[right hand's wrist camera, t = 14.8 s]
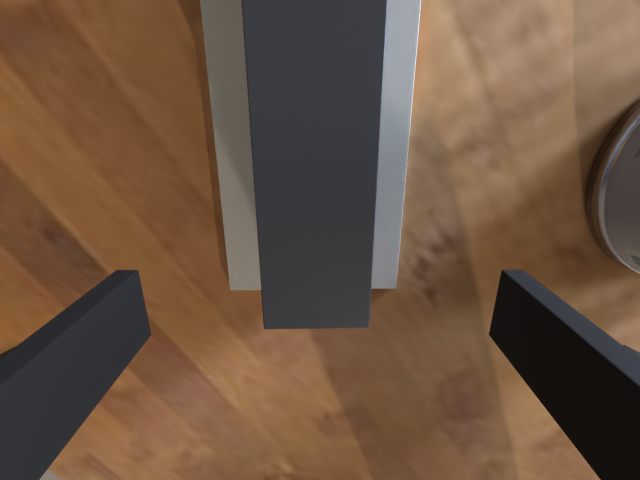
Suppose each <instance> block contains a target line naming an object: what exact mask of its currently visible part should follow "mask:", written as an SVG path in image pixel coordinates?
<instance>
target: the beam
mask: <svg viewBox="0 0 640 480" xmlns="http://www.w3.org/2000/svg"><path fill="white" fill-rule="evenodd" d="M241 3H242V17H243V32H244V46H245V61H246V75H247V90H248V104H249V119H250V133H251V148H252V162H253V177H254V191H255V206H256V220H257V235H258V249H259V264H260V278H261V293H262V307H263V322H264V329H313V328H369V319H370V302H371V285H372V267H373V250H374V233H375V215H376V198H377V181H378V163H379V146H380V129H381V111H382V94H383V77H384V60H385V42H386V25H387V8H388V0H241Z"/></svg>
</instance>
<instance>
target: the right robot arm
mask: <svg viewBox="0 0 640 480" xmlns="http://www.w3.org/2000/svg"><path fill="white" fill-rule="evenodd" d="M586 207H587V217H588V223H589V226H590V230H591V232H592V234H593V237H594V239H595V240H596V242H597V244H598V245H599V247H600V248H601V249H602V250H603V251H604V252H605V253H606V254H607V255H608V256H609V257H610V258H611V259H613V260H614V261H616V262H617V263H619V264H621V265H623V266H625V267H627V268H629V269H631V270H633V271H635V272H637V273H639V274H640V100H639V101H638V102H637V103H636V104H635V105H634V106H633V107H632V108H631V109H630V110H629V111H628V112H627V113H626V114H625V116H624V117H623V118H622V119H621V120H620V121H619V123H618V124H617V125H616V127H615V128H614V129H613V131H612V132H611V134H610V135H609V137H608V138H607V140H606V142H605V143H604V145H603V147H602V149H601V151H600V153H599V155H598V157H597V159H596V161H595V164H594V167H593V170H592V172H591V176H590V180H589V184H588V190H587V201H586ZM150 335H151V332H150V327H149V322H148V317H147V312H146V307H145V302H144V297H143V292H142V287H141V282H140V277H139V272H138V270H116V271H115V272H114V273H112V274H111V275H110V276H108V277H107V278H106V279H105V280H103V281H102V282H101V283H99V284H98V285H97V286H95V287H94V288H93V289H91V290H90V291H89V292H87V293H86V294H85V295H83V296H82V297H81V298H80V299H78V300H77V301H76V302H74V303H73V304H72V305H70V306H69V307H68V308H66V309H65V310H64V311H62V312H61V313H60V314H59V315H57V316H56V317H55V318H53V319H52V320H51V321H49V322H48V323H47V324H45V325H44V326H43V327H41V328H40V329H39V330H37V331H36V332H35V333H34V334H32V335H31V336H30V337H28V338H27V339H26V340H24V341H23V342H22V343H20V344H19V345H18V346H16V347H14V348H12V349H10V350H8V351H6V352H4V353H2V354H0V480H39V479H40V478H41V477H42V475H43V474H44V473H45V471H46V470H47V469H48V468H49V466H50V465H51V464H52V462H53V461H54V460H55V459H56V457H57V456H58V455H59V453H60V452H61V451H62V449H63V448H64V447H65V446H66V444H67V443H68V442H69V440H70V439H71V438H72V436H73V435H74V434H75V433H76V431H77V430H78V429H79V427H80V426H81V425H82V424H83V422H84V421H85V420H86V418H87V417H88V416H89V414H90V413H91V412H92V411H93V409H94V408H95V407H96V405H97V404H98V403H99V401H100V400H101V399H102V398H103V396H104V395H105V394H106V392H107V391H108V390H109V389H110V387H111V386H112V385H113V383H114V382H115V381H116V379H117V378H118V377H119V376H120V374H121V373H122V372H123V370H124V369H125V368H126V366H127V365H128V364H129V363H130V361H131V360H132V359H133V357H134V356H135V355H136V354H137V352H138V351H139V350H140V348H141V347H142V346H143V344H144V343H145V342H146V341H147V339H148V338H149V337H150ZM489 335H490V337H491V338H492V339H493V341H494V342H495V343H496V344H497V346H498V347H499V348H500V350H501V351H502V352H503V354H504V355H505V356H506V357H507V359H508V360H509V361H510V363H511V364H512V365H513V366H514V368H515V369H516V370H517V372H518V373H519V374H520V376H521V377H522V378H523V379H524V381H525V382H526V383H527V385H528V386H529V387H530V389H531V390H532V391H533V392H534V394H535V395H536V396H537V398H538V399H539V400H540V401H541V403H542V404H543V405H544V407H545V408H546V409H547V411H548V412H549V413H550V414H551V416H552V417H553V418H554V420H555V421H556V422H557V424H558V425H559V426H560V427H561V429H562V430H563V431H564V433H565V434H566V435H567V436H568V438H569V439H570V440H571V442H572V443H573V444H574V446H575V447H576V448H577V449H578V451H579V452H580V453H581V455H582V456H583V457H584V459H585V460H586V461H587V462H588V464H589V465H590V466H591V468H592V469H593V470H594V471H595V473H596V474H597V475H598V477H599V478H600V479H601V480H640V353H639V352H637V351H635V350H633V349H631V348H629V347H627V346H625V345H621V344H620V343H618V342H617V341H616V340H614V339H613V338H612V337H610V336H609V335H608V334H606V333H605V332H604V331H603V330H601V329H600V328H599V327H597V326H596V325H595V324H593V323H592V322H591V321H589V320H588V319H587V318H585V317H584V316H583V315H581V314H580V313H579V312H578V311H576V310H575V309H574V308H572V307H571V306H570V305H568V304H567V303H566V302H564V301H563V300H562V299H560V298H559V297H558V296H557V295H555V294H554V293H553V292H551V291H550V290H549V289H547V288H546V287H545V286H543V285H542V284H541V283H539V282H538V281H537V280H535V279H534V278H533V277H532V276H530V275H529V274H528V273H526V272H525V271H524V270H502V272H501V277H500V282H499V287H498V292H497V297H496V302H495V307H494V312H493V317H492V322H491V327H490V332H489Z"/></svg>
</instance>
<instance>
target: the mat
mask: <svg viewBox="0 0 640 480" xmlns="http://www.w3.org/2000/svg"><path fill="white" fill-rule="evenodd" d="M200 5H201V15H202V24H203V34H204V44H205V53H206V63H207V72H208V82H209V92H210V101H211V111H212V121H213V130H214V140H215V150H216V159H217V169H218V179H219V188H220V198H221V208H222V217H223V227H224V236H225V246H226V256H227V265H228V275H229V285H230V290H261V278H260V264H259V249H258V235H257V220H256V206H255V191H254V177H253V162H252V148H251V133H250V119H249V104H248V90H247V75H246V61H245V46H244V32H243V17H242V3H241V0H200ZM420 7H421V0H388V8H387V25H386V42H385V60H384V77H383V94H382V111H381V129H380V146H379V163H378V181H377V198H376V215H375V233H374V250H373V267H372V285H371V289H396V281H397V270H398V258H399V247H400V236H401V224H402V213H403V201H404V190H405V178H406V167H407V156H408V144H409V133H410V121H411V110H412V98H413V87H414V75H415V64H416V53H417V41H418V30H419V18H420Z"/></svg>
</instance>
